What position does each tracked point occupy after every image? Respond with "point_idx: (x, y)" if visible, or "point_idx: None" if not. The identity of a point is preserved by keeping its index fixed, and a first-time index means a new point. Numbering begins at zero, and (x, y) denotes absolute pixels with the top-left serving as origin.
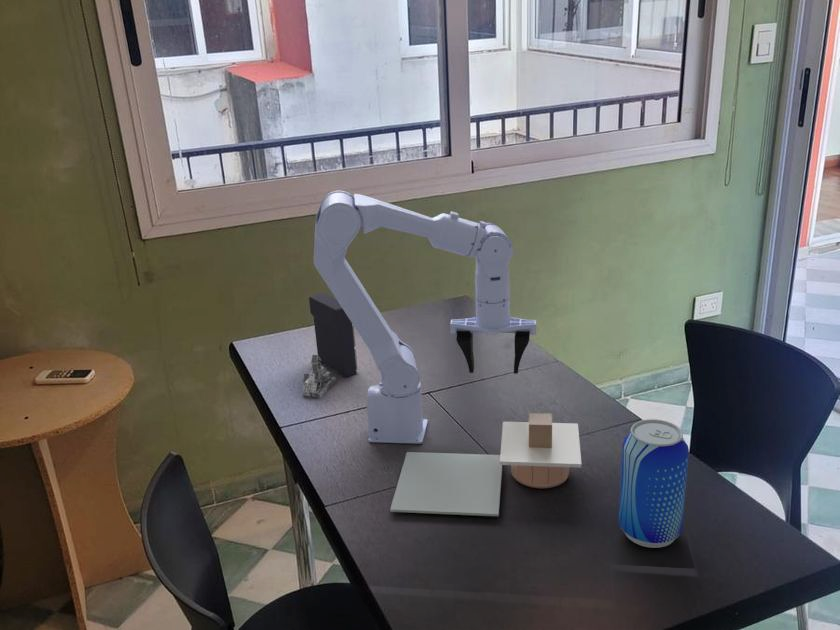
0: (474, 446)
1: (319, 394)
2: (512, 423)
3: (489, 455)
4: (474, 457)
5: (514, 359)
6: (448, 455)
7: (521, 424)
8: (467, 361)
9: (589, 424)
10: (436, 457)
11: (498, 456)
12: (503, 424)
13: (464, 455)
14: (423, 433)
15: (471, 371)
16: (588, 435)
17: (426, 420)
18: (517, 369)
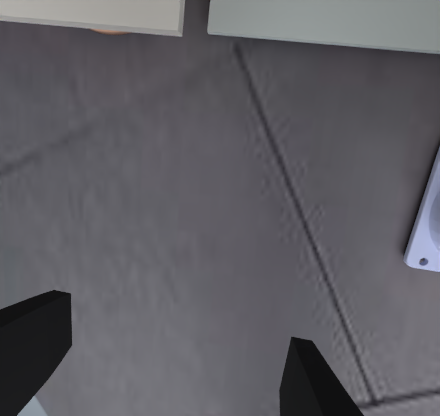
0: (282, 123)
1: None
2: (140, 10)
3: (247, 28)
4: (294, 16)
5: (33, 395)
6: (377, 31)
7: (105, 1)
8: (357, 410)
9: (6, 208)
10: (421, 18)
11: (221, 22)
12: (177, 2)
13: (325, 29)
14: (433, 185)
15: (304, 343)
16: (7, 159)
17: (410, 258)
18: (29, 299)
